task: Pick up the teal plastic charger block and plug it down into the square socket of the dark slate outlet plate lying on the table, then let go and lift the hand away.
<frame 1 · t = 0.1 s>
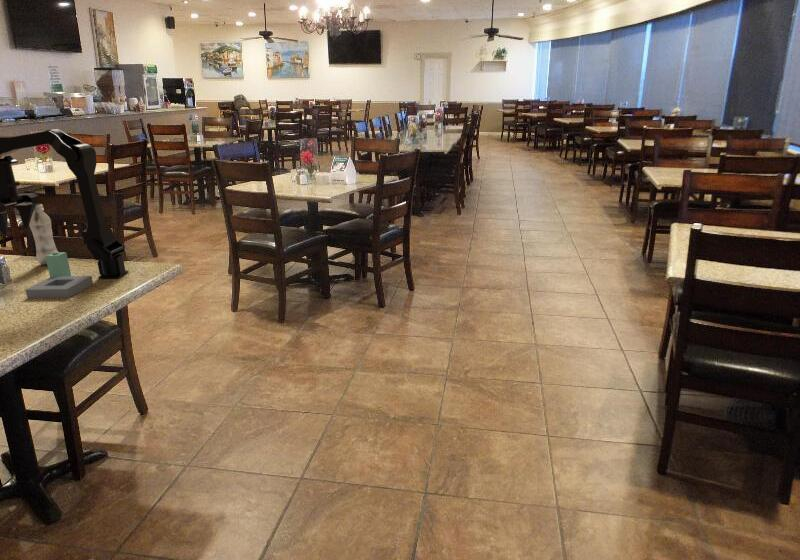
hand: (16, 231, 176), 15 cm above the table, fingers open, 9 cm apart
plastic bottle: (49, 264, 194), on the table
outlet plate: (61, 290, 166), on the table
charger: (61, 279, 177), on the table
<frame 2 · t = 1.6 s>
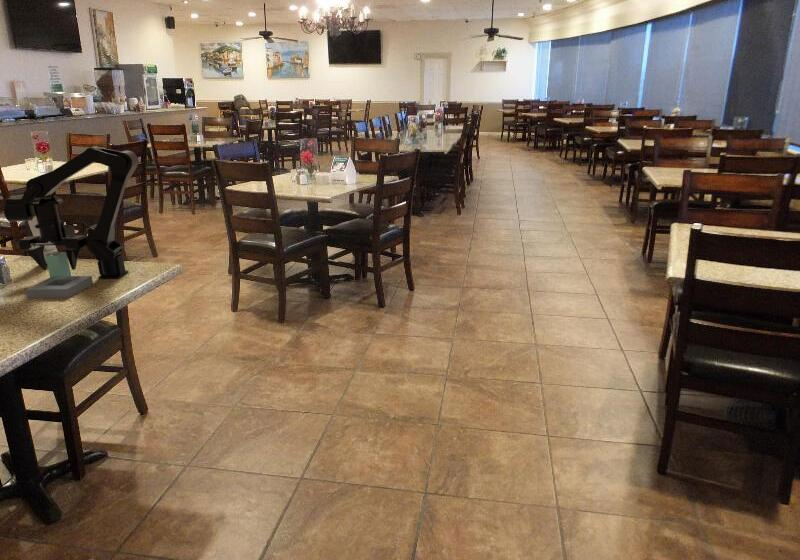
hand: (59, 269, 176), 3 cm above the table, fingers open, 9 cm apart
nothing on the table moved.
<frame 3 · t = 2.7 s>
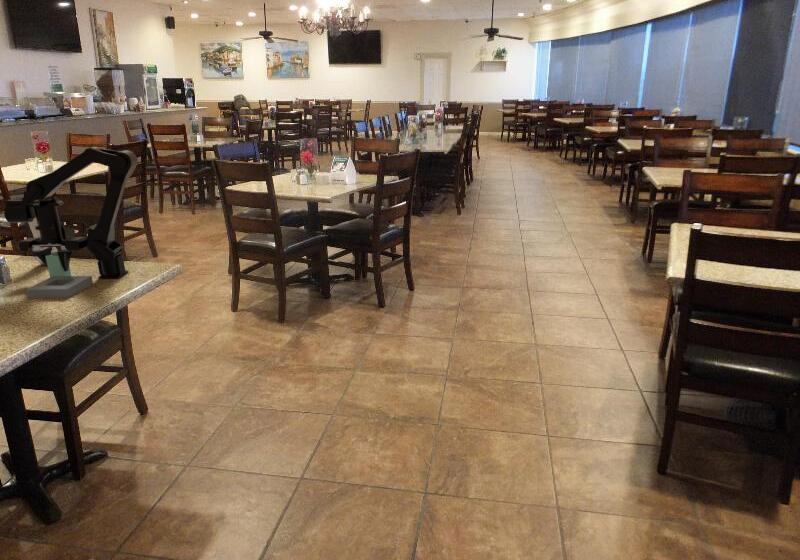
hand: (59, 271, 176), 3 cm above the table, fingers closed on charger, 4 cm apart
charger: (61, 279, 177), on the table, touching gripper
everything else where it was.
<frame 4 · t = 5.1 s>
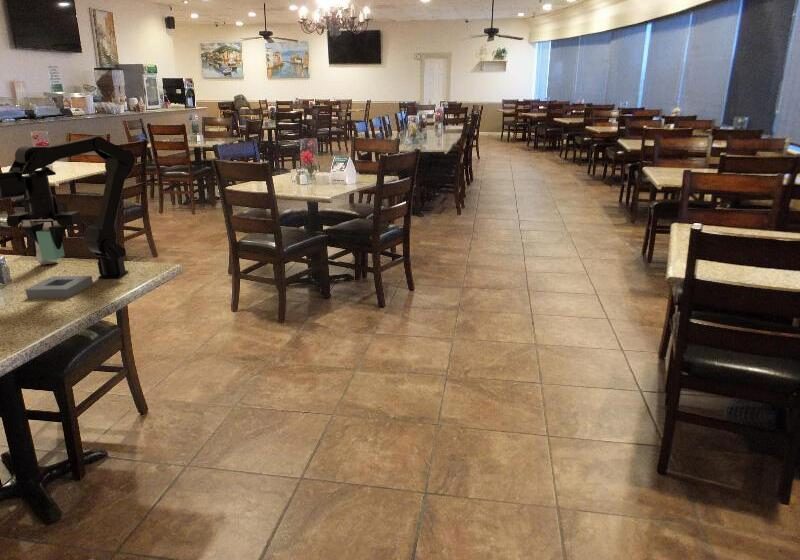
hand: (51, 249, 162), 12 cm above the table, fingers closed on charger, 4 cm apart
charger: (53, 257, 163), point 10 cm above the table, touching gripper
everything else where it was.
when the fingers open (3 cm above the table, at t = 7.4 s): charger stays where it is, resting in outlet plate.
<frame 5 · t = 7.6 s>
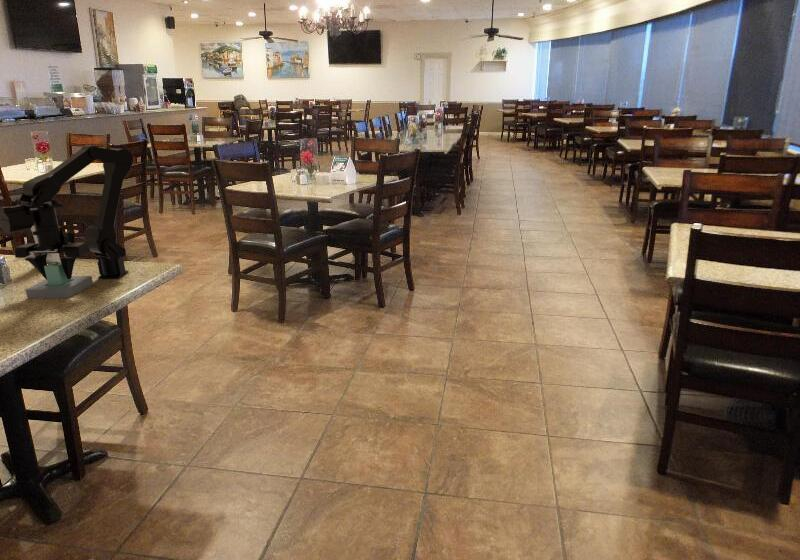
hand: (58, 279, 165), 3 cm above the table, fingers open, 6 cm apart
charger: (61, 290, 166), resting in outlet plate
everything else where it was.
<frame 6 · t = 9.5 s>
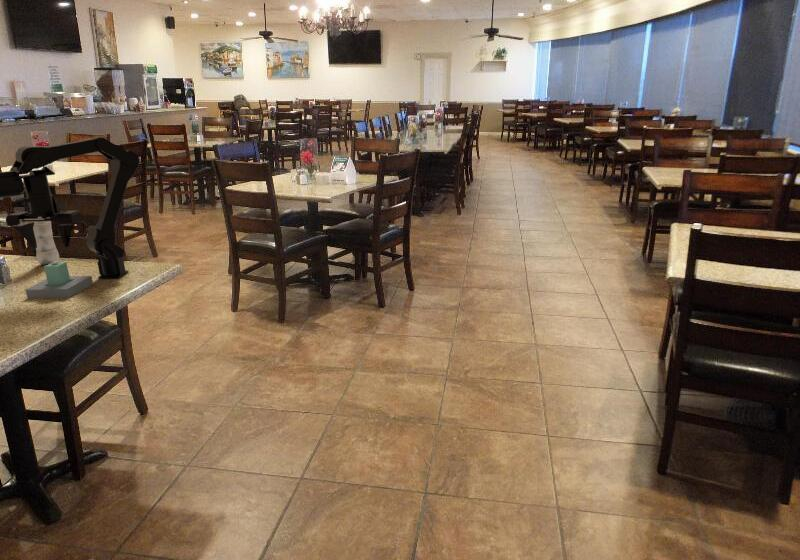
hand: (51, 247, 164), 12 cm above the table, fingers open, 9 cm apart
nothing on the table moved.
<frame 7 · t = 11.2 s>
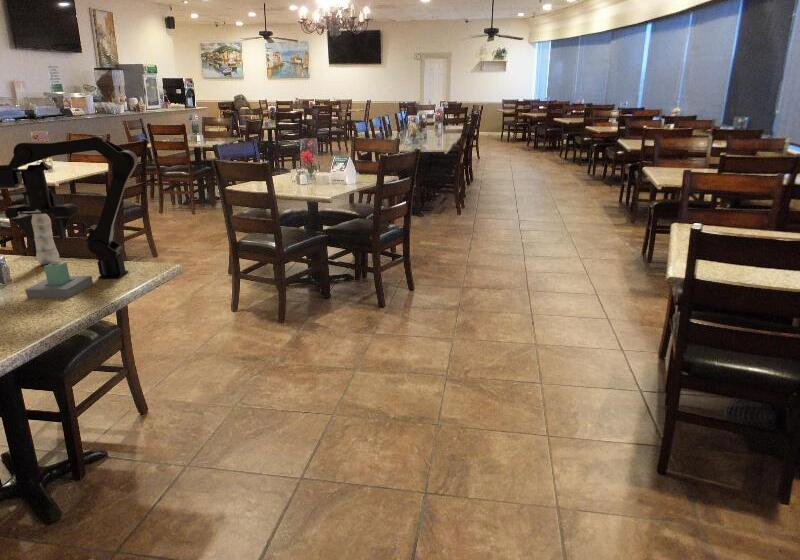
hand: (47, 239, 171), 13 cm above the table, fingers open, 9 cm apart
nothing on the table moved.
at the end: charger 0.0 cm off-centre on the outlet plate, point 0.0 cm above the outlet plate's base; charger tilted 0°; the gripper is holding nothing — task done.
